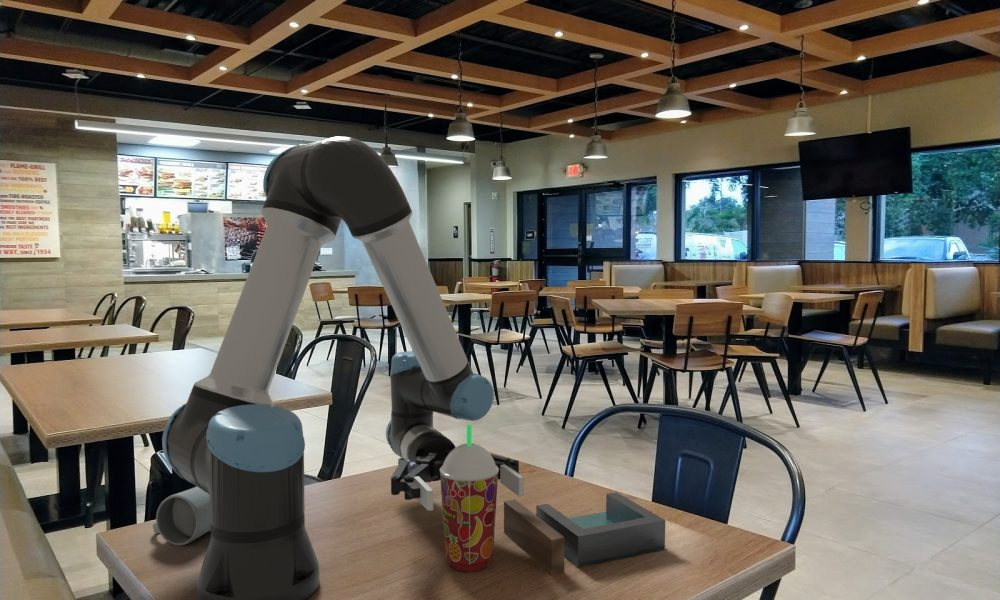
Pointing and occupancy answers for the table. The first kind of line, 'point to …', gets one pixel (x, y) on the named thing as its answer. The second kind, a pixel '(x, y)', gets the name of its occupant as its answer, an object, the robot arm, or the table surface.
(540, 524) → the walnut rail
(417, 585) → the table surface
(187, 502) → the ceramic mug
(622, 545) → the keyed cradle
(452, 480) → the smoothie
